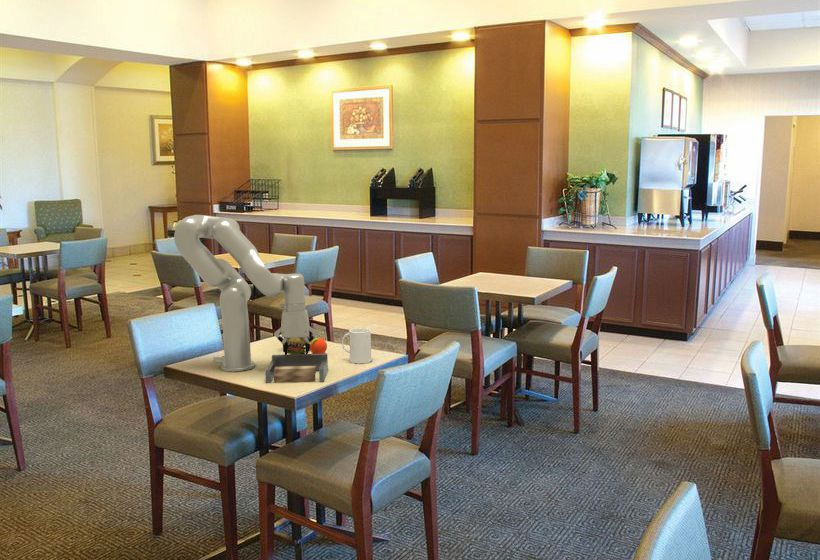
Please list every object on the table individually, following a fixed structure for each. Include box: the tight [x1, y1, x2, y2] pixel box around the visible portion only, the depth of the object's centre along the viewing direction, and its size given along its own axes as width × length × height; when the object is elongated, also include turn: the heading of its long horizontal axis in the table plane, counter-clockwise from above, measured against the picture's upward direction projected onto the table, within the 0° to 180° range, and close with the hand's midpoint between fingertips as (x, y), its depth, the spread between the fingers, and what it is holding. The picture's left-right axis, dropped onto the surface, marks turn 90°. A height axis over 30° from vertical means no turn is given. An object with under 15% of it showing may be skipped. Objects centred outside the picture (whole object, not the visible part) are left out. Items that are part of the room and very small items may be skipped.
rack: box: [264, 353, 329, 384], centre depth 247 cm, size 20×15×6 cm
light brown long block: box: [273, 366, 317, 383], centre depth 241 cm, size 14×3×5 cm, turn 91°
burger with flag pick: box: [286, 338, 306, 355], centre depth 260 cm, size 8×7×12 cm
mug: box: [341, 327, 373, 365], centre depth 265 cm, size 12×8×12 cm
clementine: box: [310, 337, 328, 354], centre depth 274 cm, size 8×7×7 cm
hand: (296, 353), depth 260 cm, fingers closed on burger with flag pick, 7 cm apart
